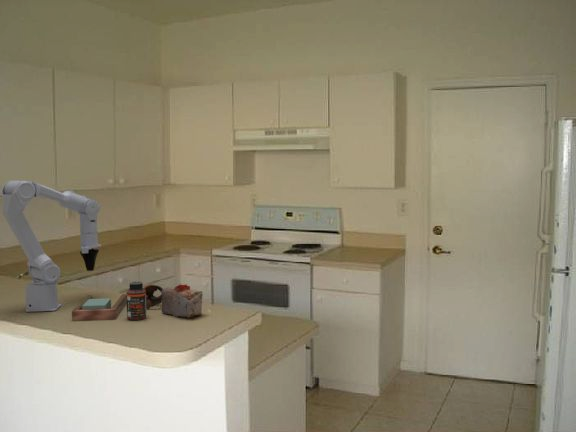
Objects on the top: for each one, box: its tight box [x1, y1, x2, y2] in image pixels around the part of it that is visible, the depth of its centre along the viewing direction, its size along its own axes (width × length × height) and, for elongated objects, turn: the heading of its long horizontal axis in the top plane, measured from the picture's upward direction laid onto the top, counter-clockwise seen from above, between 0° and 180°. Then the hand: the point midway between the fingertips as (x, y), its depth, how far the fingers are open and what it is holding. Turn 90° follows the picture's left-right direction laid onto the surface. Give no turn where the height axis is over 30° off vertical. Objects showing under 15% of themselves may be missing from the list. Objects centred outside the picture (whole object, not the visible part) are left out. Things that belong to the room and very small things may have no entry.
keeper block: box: [82, 297, 112, 310], centre depth 185 cm, size 7×9×4 cm
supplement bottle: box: [125, 281, 147, 321], centre depth 181 cm, size 6×6×11 cm
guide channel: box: [71, 293, 127, 322], centre depth 190 cm, size 13×22×3 cm, turn 6°
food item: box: [160, 283, 203, 319], centre depth 185 cm, size 14×8×10 cm, turn 58°
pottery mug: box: [143, 284, 164, 310], centre depth 196 cm, size 12×10×8 cm
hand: (90, 270), depth 206 cm, fingers closed
